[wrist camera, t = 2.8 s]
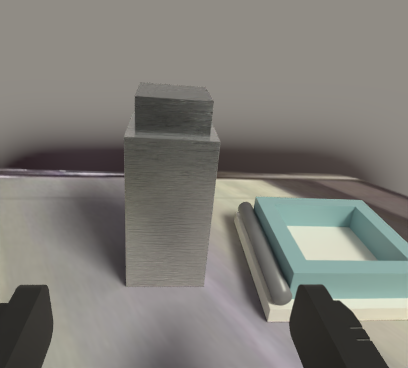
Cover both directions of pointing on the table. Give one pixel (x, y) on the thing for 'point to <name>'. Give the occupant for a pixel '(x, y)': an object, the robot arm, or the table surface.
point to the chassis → (324, 255)
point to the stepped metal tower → (169, 185)
